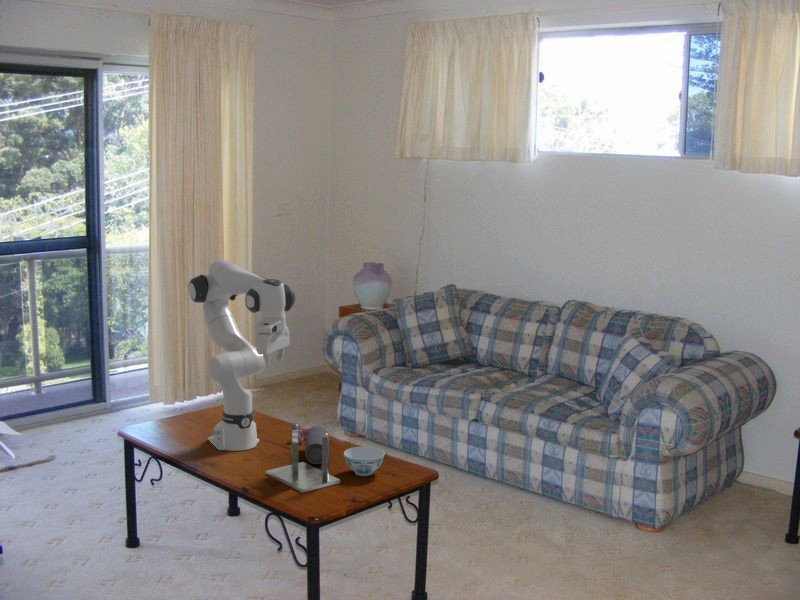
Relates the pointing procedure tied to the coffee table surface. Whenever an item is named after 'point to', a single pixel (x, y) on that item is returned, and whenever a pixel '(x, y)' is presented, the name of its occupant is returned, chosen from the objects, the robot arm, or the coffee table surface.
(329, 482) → the gate frame
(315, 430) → the bluetooth speaker
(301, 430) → the video game controller
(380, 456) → the chinaware
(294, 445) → the gate
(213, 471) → the coffee table surface
